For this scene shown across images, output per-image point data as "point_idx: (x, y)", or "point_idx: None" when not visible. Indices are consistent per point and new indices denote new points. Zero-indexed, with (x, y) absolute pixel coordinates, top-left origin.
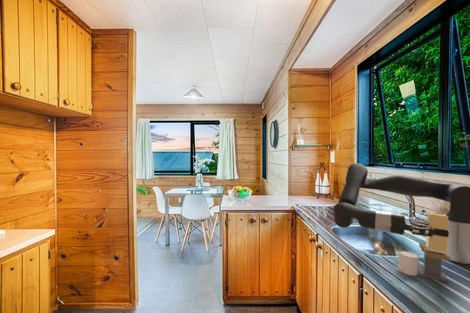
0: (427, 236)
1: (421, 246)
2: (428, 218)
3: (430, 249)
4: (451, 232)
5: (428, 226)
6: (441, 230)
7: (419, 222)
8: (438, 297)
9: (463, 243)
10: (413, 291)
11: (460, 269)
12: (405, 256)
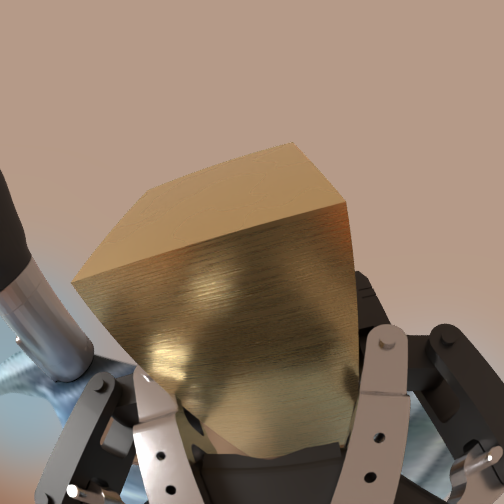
0: (285, 433)
1: (138, 463)
2: (236, 324)
3: (223, 440)
4: (27, 319)
5: (300, 386)
6: (356, 292)
7: (197, 473)
8: (412, 432)
9: (60, 318)
10: (428, 486)
11: (129, 373)
12: None
